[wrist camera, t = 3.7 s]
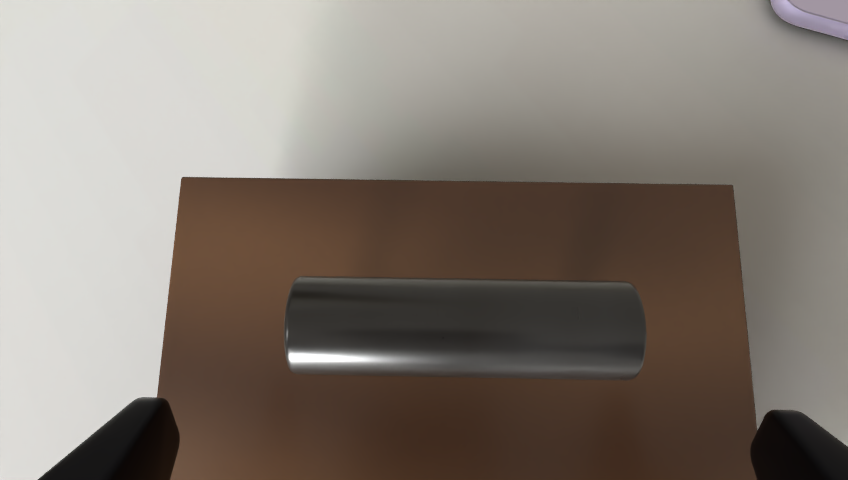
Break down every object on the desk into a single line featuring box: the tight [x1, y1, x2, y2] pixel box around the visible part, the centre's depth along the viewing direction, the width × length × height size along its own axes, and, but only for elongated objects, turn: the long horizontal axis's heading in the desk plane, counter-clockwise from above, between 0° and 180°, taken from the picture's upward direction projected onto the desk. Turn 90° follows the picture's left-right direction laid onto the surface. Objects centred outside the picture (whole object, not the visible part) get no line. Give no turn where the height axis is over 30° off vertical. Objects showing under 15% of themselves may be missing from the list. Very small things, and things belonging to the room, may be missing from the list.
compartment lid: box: [157, 177, 757, 480], centre depth 11 cm, size 10×13×5 cm
